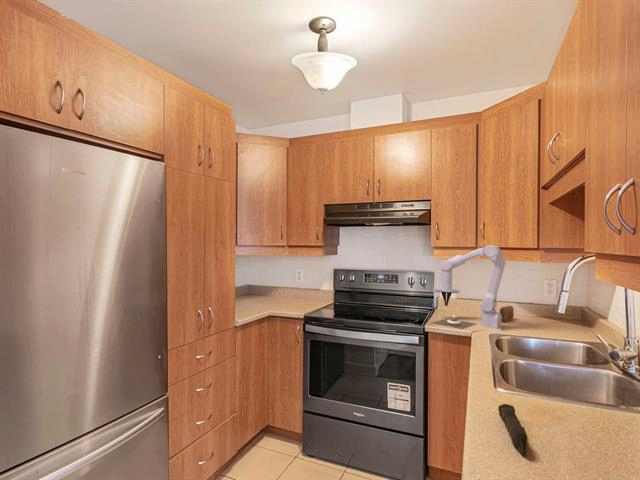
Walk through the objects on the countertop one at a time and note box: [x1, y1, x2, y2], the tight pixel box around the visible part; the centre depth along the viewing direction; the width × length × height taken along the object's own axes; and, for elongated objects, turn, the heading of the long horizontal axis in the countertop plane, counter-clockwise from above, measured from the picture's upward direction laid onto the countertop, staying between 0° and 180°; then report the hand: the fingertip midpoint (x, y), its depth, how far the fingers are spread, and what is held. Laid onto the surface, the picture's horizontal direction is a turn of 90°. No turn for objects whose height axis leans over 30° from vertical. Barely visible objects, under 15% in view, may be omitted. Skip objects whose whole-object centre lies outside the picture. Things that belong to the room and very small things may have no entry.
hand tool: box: [497, 403, 528, 457], centre depth 90 cm, size 19×4×5 cm, turn 161°
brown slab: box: [498, 305, 515, 323], centre depth 215 cm, size 15×3×8 cm, turn 132°
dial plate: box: [431, 317, 477, 330], centre depth 202 cm, size 18×18×1 cm
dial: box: [447, 314, 462, 325], centre depth 204 cm, size 11×7×3 cm, turn 160°
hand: (446, 305), depth 210 cm, fingers closed
